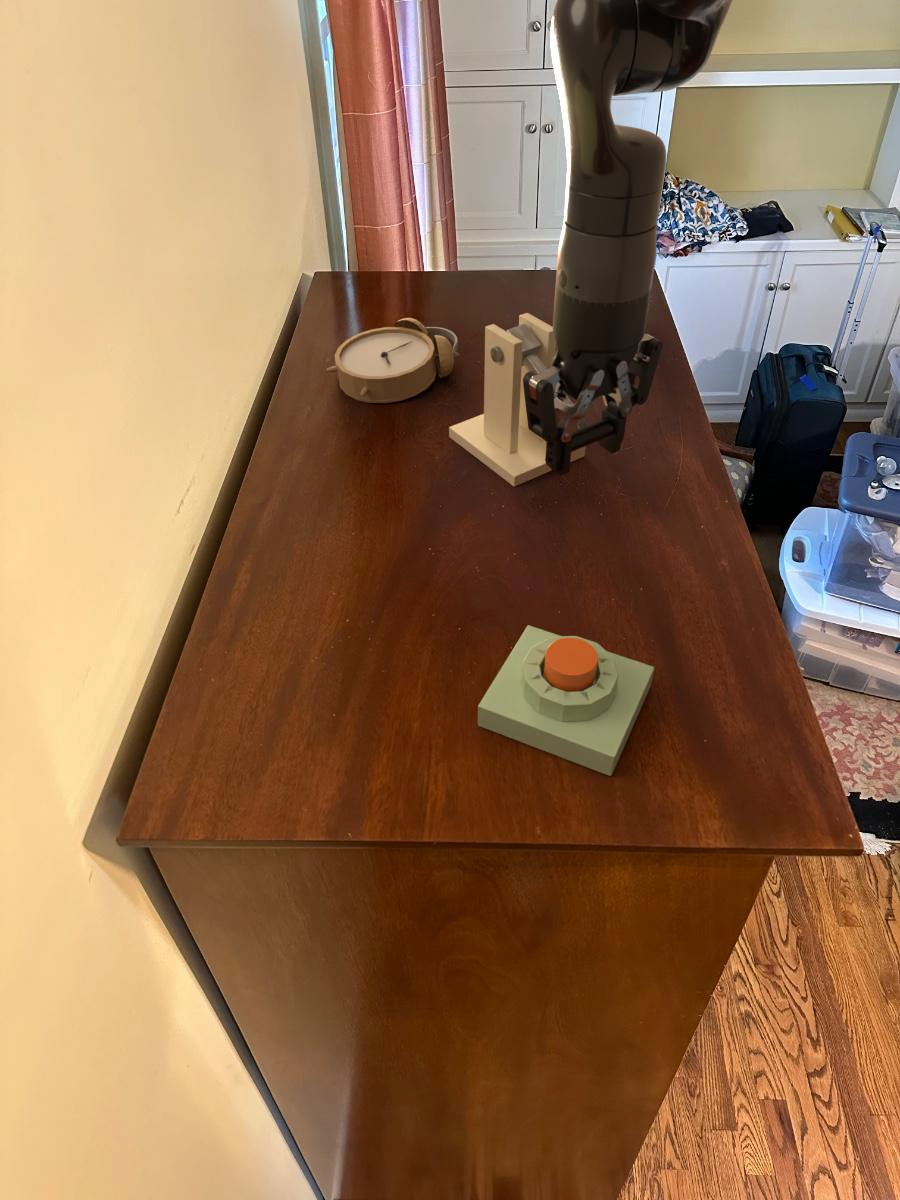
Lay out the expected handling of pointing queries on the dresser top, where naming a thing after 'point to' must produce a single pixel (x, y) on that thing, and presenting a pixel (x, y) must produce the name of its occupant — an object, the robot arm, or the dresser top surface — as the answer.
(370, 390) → the alarm clock
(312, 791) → the dresser top surface
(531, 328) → the bracket
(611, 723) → the button block
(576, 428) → the lever
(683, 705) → the dresser top surface
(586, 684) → the button
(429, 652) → the dresser top surface
